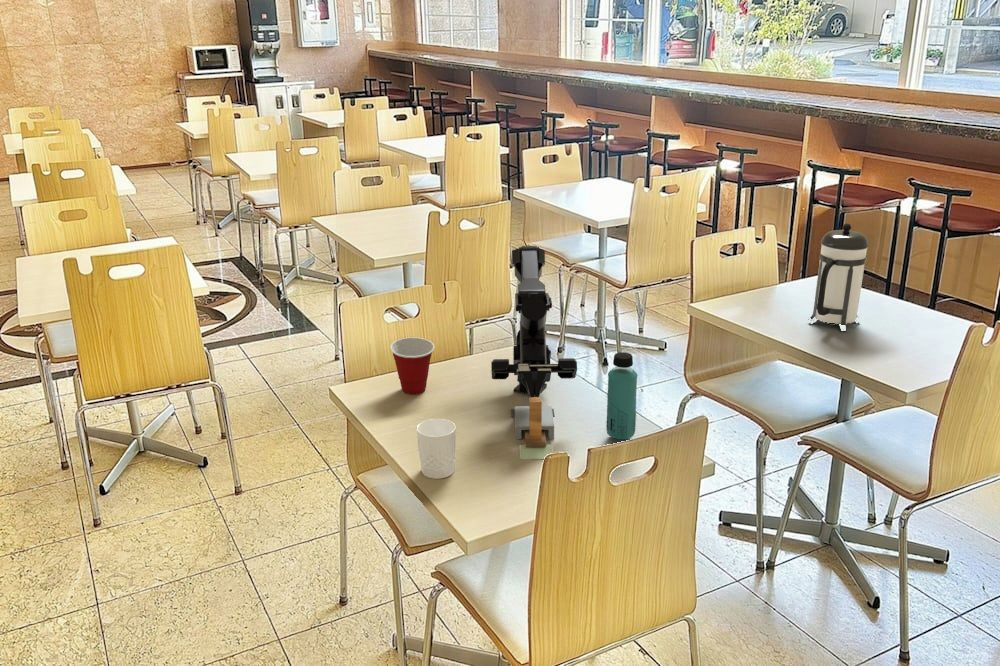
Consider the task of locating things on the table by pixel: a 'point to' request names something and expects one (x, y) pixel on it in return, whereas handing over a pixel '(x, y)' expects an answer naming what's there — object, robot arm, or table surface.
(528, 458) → the pad
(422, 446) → the white cup
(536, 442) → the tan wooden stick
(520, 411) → the tunnel
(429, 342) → the plastic cup
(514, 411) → the pit
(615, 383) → the beverage bottle
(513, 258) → the robot arm
